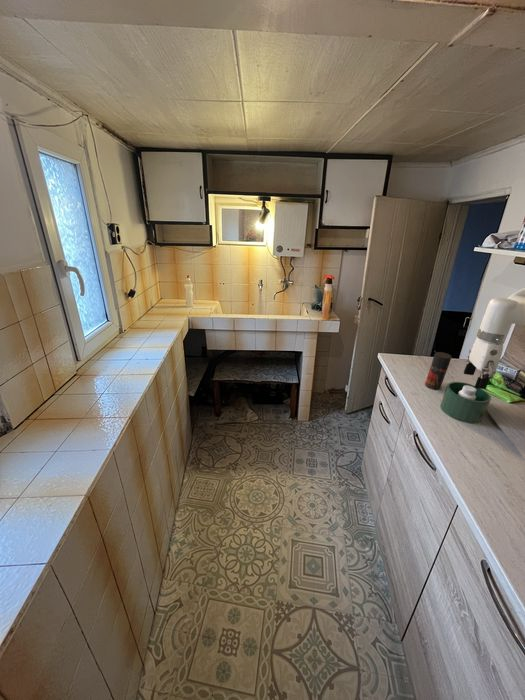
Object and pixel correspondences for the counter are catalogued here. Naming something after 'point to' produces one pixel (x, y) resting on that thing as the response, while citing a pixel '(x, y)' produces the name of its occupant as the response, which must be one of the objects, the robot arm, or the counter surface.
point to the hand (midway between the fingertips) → (473, 380)
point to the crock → (464, 403)
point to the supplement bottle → (468, 392)
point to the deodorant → (437, 370)
